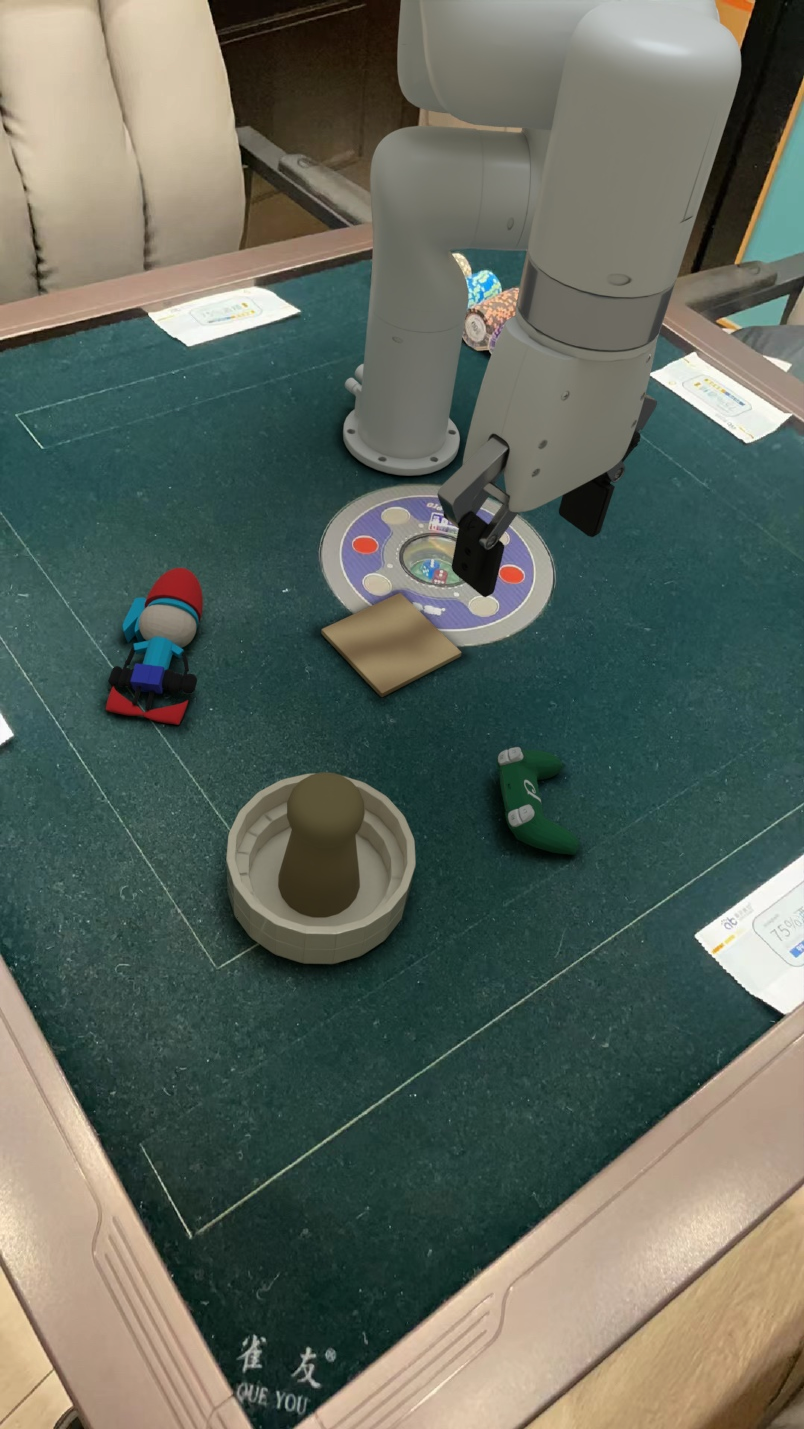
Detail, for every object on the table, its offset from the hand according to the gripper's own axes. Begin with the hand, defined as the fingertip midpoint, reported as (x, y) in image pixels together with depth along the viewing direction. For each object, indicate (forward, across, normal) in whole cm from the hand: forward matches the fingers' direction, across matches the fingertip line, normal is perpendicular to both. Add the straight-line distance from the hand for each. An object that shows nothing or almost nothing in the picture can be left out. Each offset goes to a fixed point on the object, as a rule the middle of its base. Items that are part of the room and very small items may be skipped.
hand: (526, 552), depth 66 cm
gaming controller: (+25, -3, +5) cm, 26 cm away
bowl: (+25, +15, 0) cm, 29 cm away
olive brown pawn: (+24, +15, 0) cm, 29 cm away
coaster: (+25, -5, -15) cm, 29 cm away
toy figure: (+25, +12, -26) cm, 38 cm away
